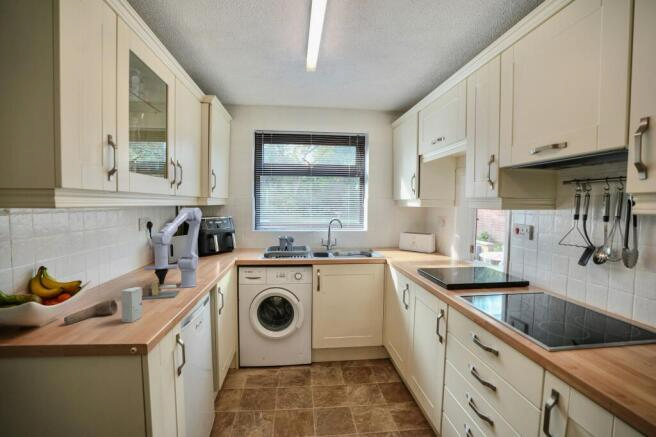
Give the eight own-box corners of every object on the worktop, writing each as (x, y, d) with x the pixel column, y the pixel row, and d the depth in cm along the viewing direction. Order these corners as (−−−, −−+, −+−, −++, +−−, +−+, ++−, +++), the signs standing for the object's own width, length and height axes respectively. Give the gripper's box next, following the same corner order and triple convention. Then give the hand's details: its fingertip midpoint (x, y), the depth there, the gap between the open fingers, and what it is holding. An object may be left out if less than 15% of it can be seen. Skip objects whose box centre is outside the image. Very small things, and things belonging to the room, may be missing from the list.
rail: (139, 300, 137) (139, 289, 137) (147, 294, 146) (146, 283, 146) (174, 297, 141) (174, 287, 140) (179, 291, 150) (179, 281, 150)
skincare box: (132, 322, 110) (131, 291, 110) (120, 322, 110) (120, 291, 110) (143, 316, 116) (142, 286, 116) (132, 316, 116) (131, 286, 116)
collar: (152, 295, 140) (152, 283, 140) (156, 292, 146) (156, 280, 145) (157, 295, 141) (157, 283, 140) (161, 291, 146) (161, 280, 146)
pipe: (58, 312, 108) (79, 310, 105) (101, 298, 124) (120, 296, 122) (61, 329, 108) (81, 327, 105) (104, 313, 124) (123, 311, 122)
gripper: (141, 259, 137) (142, 287, 138) (175, 257, 141) (175, 285, 142) (147, 256, 144) (147, 283, 145) (178, 255, 148) (179, 281, 148)
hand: (161, 284), depth 143 cm, fingers closed
